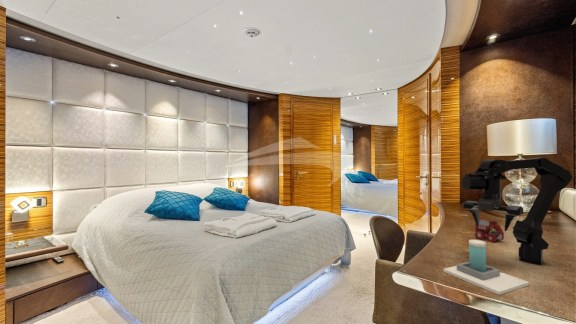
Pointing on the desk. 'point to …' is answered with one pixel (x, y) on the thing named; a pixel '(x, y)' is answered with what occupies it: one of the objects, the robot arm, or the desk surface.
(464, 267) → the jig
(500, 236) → the toy fire truck
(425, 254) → the desk surface
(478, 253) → the teal cylinder white cap
